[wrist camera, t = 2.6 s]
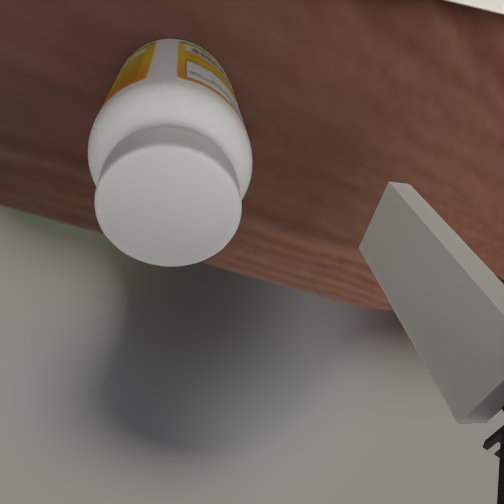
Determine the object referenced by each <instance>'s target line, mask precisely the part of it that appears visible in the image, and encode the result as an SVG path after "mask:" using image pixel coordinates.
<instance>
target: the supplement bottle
mask: <svg viewBox="0 0 504 504" xmlns="http://www.w3.org/2000/svg"><path fill="white" fill-rule="evenodd" d="M88 163H89V168H90V172H91V175H92V178H93V181H94V183H95V185H96V190H95V199H94V206H95V213H96V217H97V220H98V223H99V225H100V227H101V229H102V231H103V232H104V234H105V235H106V237H107V238H108V239H109V240H110V241H111V242H112V243H113V244H114V245H115V246H116V247H117V248H118V249H120V250H121V251H122V252H124V253H125V254H127V255H129V256H131V257H133V258H135V259H137V260H139V261H142V262H145V263H148V264H153V265H159V266H168V267H170V266H184V265H190V264H194V263H198V262H200V261H203V260H205V259H207V258H209V257H211V256H213V255H215V254H216V253H218V252H219V251H220V250H221V249H223V248H224V247H225V246H226V245H227V244H228V243H229V241H230V240H231V239H232V237H233V236H234V234H235V233H236V230H237V228H238V226H239V222H240V218H241V212H242V202H241V200H242V199H243V197H244V195H245V193H246V191H247V189H248V186H249V183H250V179H251V174H252V151H251V146H250V142H249V138H248V134H247V131H246V128H245V125H244V122H243V119H242V116H241V113H240V110H239V107H238V104H237V101H236V98H235V95H234V92H233V89H232V86H231V83H230V81H229V79H228V77H227V75H226V73H225V71H224V69H223V68H222V67H221V65H220V64H219V62H218V61H217V60H216V59H215V58H214V57H213V56H212V55H211V54H210V53H208V52H207V51H206V50H204V49H203V48H201V47H199V46H197V45H195V44H193V43H191V42H188V41H184V40H179V39H161V40H156V41H153V42H150V43H148V44H146V45H144V46H142V47H141V48H139V49H138V50H136V51H135V52H134V53H133V54H132V55H131V56H130V57H129V58H128V59H127V61H126V62H125V63H124V65H123V67H122V68H121V70H120V72H119V74H118V76H117V78H116V80H115V82H114V84H113V86H112V88H111V90H110V92H109V94H108V95H107V97H106V100H105V101H104V103H103V105H102V107H101V109H100V111H99V113H98V115H97V117H96V119H95V121H94V124H93V127H92V130H91V133H90V137H89V143H88Z"/></svg>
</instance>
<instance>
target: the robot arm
mask: <svg viewBox="0 0 504 504" xmlns="http://www.w3.org/2000/svg"><path fill="white" fill-rule="evenodd" d="M359 249H360V251H361V253H362V255H363V256H364V258H365V260H366V262H367V263H368V265H369V267H370V269H371V271H372V272H373V274H374V276H375V278H376V279H377V281H378V283H379V285H380V286H381V288H382V290H383V292H384V294H385V295H386V297H387V299H388V301H389V302H390V304H391V306H392V308H393V310H394V311H395V313H396V315H397V317H398V318H399V320H400V322H401V324H402V325H403V327H404V329H405V331H406V333H407V334H408V336H409V338H410V340H411V341H412V343H413V345H414V347H415V348H416V350H417V352H418V354H419V356H420V357H421V359H422V361H423V363H424V364H425V366H426V368H427V370H428V372H429V373H430V375H431V377H432V378H433V380H434V382H435V384H436V386H437V387H438V389H439V391H440V393H441V395H442V396H443V398H444V400H445V402H446V403H447V405H448V407H449V409H450V411H451V412H452V414H453V416H454V418H455V419H456V421H457V423H458V424H468V423H469V424H470V423H486V422H487V421H488V420H490V419H491V418H492V417H493V416H494V415H495V414H496V413H498V412H499V411H500V410H501V409H502V410H503V411H504V280H502V279H501V278H499V277H498V276H497V275H495V274H494V273H493V272H492V271H491V270H490V269H489V268H488V267H487V266H486V265H485V264H484V263H483V262H482V261H481V259H480V258H479V257H478V256H477V255H476V254H475V253H474V252H473V251H472V250H471V249H470V248H469V247H468V246H467V245H466V244H465V242H464V241H463V240H462V239H461V238H460V237H459V236H458V235H457V234H456V233H455V232H454V231H453V230H452V229H451V228H450V226H449V225H448V224H447V223H446V222H445V221H444V220H443V219H442V218H441V217H440V216H439V215H438V214H437V213H436V212H435V211H434V209H433V208H432V207H431V206H430V205H429V204H428V203H427V202H426V201H425V200H424V199H423V198H422V197H421V196H420V195H419V194H418V192H417V191H416V190H415V189H414V188H413V187H412V186H411V185H410V184H405V183H396V182H388V185H387V187H386V189H385V191H384V193H383V196H382V198H381V200H380V202H379V204H378V207H377V209H376V211H375V213H374V215H373V218H372V220H371V222H370V224H369V226H368V229H367V231H366V233H365V235H364V237H363V240H362V242H361V244H360V246H359ZM497 442H500V443H501V445H500V449H499V450H498V451H497V452H496V453H495V455H496V456H498V457H499V458H500V462H499V481H498V498H497V504H504V425H503V426H502V427H501V428H500V429H499V430H497V431H496V432H495V433H494V434H493V435H491V436H490V437H489V438H488V439H487V440H485V443H484V445H483V448H485V449H487V450H488V449H489V448H491V447H492V446H493V445H494V444H496V443H497Z"/></svg>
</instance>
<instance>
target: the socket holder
mask: <svg viewBox="0 0 504 504" xmlns="http://www.w3.org/2000/svg"><path fill="white" fill-rule="evenodd" d="M444 1H448V2H452V3H456V4H460V5H464V6H468V7H473V8H477V9H481V10H485V11H489V12H493V13H497V14H502V15H504V0H444Z"/></svg>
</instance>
